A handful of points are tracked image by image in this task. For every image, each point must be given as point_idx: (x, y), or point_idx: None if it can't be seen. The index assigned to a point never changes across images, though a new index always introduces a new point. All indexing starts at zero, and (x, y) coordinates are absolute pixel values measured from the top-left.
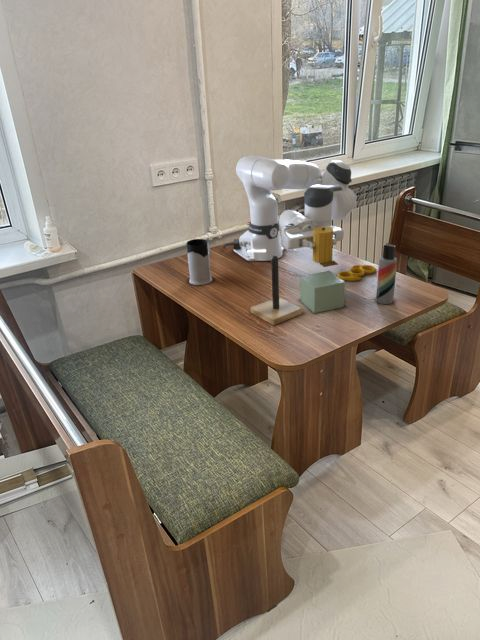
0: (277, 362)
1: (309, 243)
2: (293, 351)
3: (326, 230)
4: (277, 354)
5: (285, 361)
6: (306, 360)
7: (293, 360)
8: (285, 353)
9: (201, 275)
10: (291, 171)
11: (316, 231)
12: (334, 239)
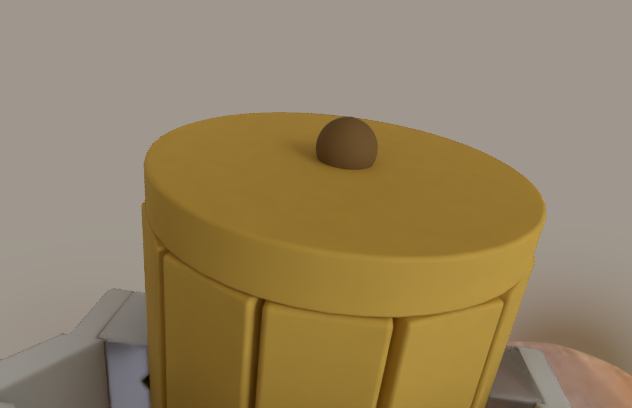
0: (623, 373)
1: (558, 403)
2: (566, 392)
3: (316, 137)
4: (627, 404)
5: (596, 365)
6: (528, 342)
7: (569, 358)
8: (596, 396)
9: None
10: None
11: (497, 170)
12: (137, 293)
